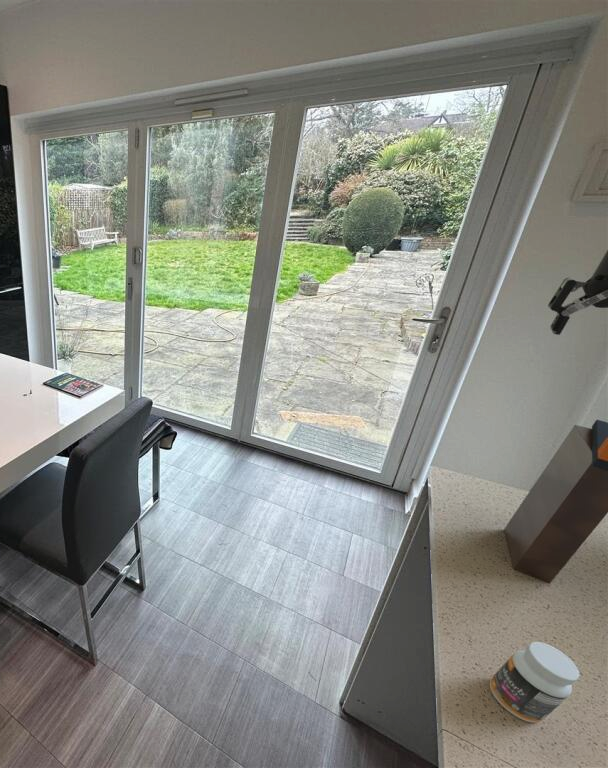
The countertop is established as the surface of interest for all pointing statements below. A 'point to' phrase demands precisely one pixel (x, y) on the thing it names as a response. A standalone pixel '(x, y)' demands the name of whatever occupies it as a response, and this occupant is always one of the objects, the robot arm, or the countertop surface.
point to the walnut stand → (559, 509)
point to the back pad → (600, 445)
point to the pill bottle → (534, 681)
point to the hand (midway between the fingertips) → (586, 338)
